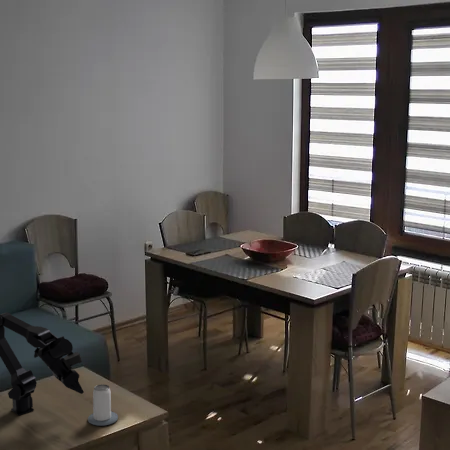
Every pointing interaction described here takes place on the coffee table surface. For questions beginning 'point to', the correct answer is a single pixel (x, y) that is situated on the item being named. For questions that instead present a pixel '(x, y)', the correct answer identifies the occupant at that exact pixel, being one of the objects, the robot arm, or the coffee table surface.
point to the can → (102, 402)
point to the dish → (101, 423)
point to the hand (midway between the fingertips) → (79, 390)
